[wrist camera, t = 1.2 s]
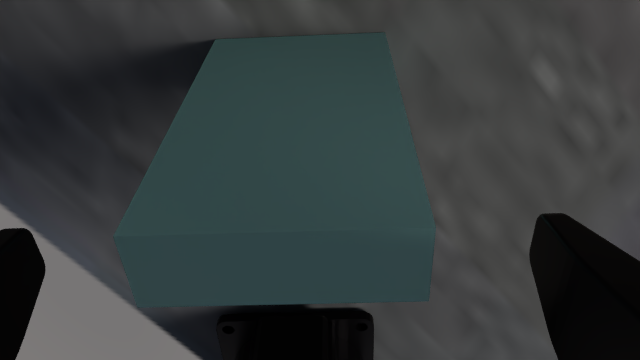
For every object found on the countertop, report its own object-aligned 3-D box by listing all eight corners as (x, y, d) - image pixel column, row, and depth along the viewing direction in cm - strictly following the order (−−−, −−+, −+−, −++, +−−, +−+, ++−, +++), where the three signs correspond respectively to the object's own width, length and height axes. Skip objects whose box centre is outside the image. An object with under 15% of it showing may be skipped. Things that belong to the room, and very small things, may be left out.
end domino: (383, 82, 16) (428, 301, 9) (223, 89, 17) (137, 307, 9) (384, 32, 16) (435, 227, 8) (215, 39, 16) (113, 236, 8)
